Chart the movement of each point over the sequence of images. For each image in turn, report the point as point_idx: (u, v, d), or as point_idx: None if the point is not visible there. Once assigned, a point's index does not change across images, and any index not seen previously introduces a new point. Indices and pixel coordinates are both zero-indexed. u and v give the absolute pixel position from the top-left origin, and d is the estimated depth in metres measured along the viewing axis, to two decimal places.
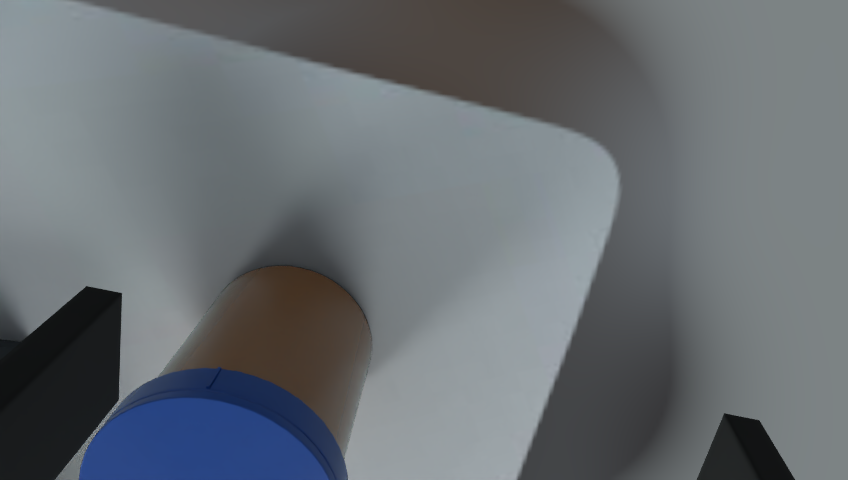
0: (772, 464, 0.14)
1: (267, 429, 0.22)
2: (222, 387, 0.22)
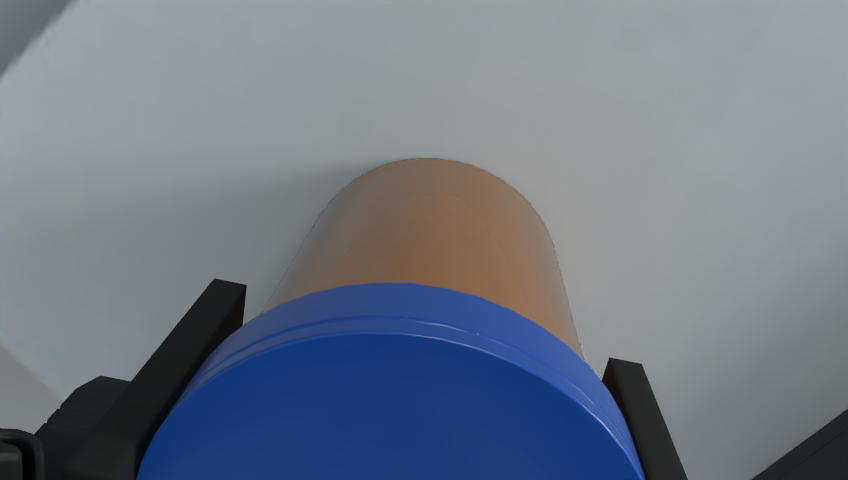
0: (642, 399, 0.15)
1: None
2: None
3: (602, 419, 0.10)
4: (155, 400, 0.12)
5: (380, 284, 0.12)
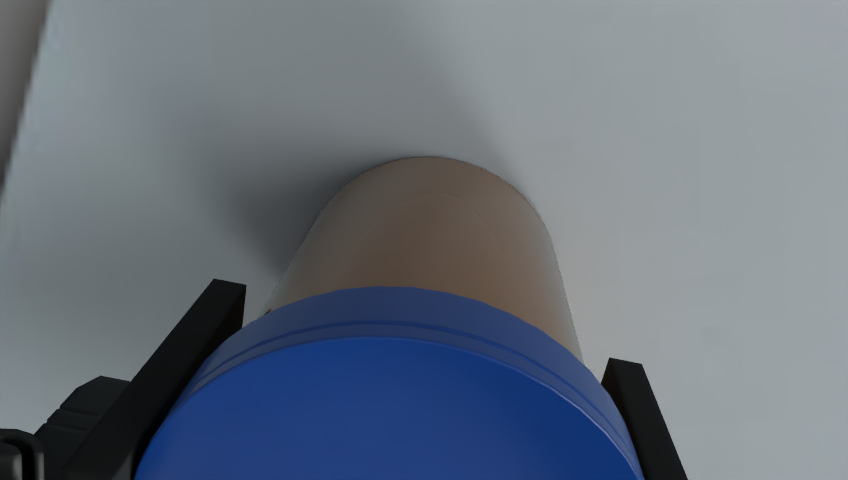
0: (642, 398, 0.15)
1: None
2: None
3: (604, 426, 0.10)
4: (155, 400, 0.12)
5: (379, 288, 0.12)
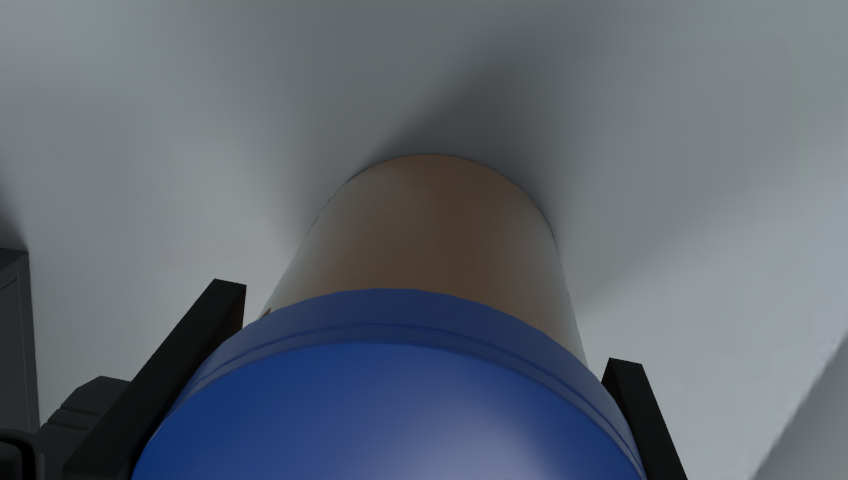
0: (642, 398, 0.15)
1: None
2: None
3: (610, 433, 0.10)
4: (155, 400, 0.12)
5: (381, 289, 0.11)
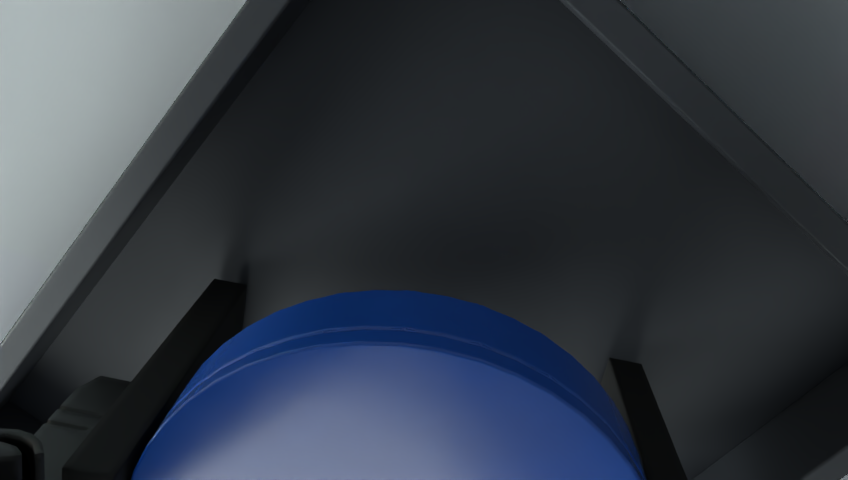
0: (642, 399, 0.15)
1: None
2: None
3: (607, 433, 0.10)
4: (155, 400, 0.12)
5: (379, 291, 0.11)
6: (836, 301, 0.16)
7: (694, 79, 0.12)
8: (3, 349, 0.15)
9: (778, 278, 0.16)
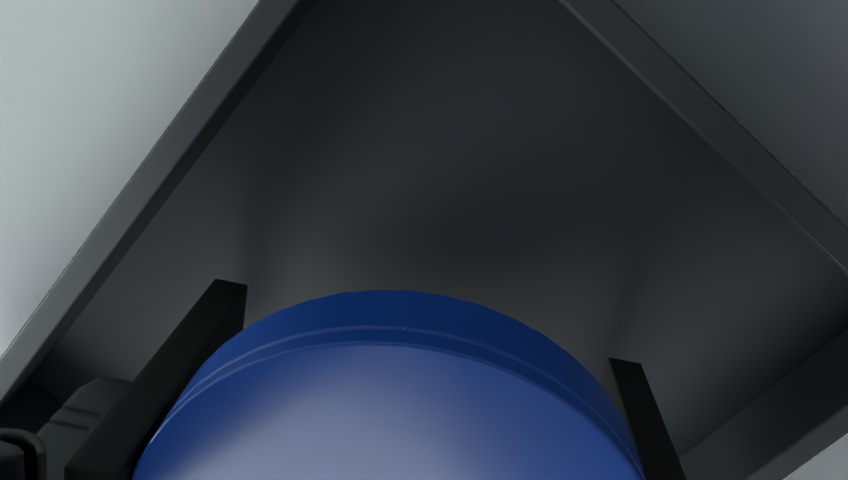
0: (641, 398, 0.15)
1: None
2: None
3: (608, 433, 0.10)
4: (157, 400, 0.12)
5: (379, 291, 0.11)
6: (818, 283, 0.17)
7: (680, 71, 0.13)
8: (28, 328, 0.16)
9: (763, 262, 0.17)
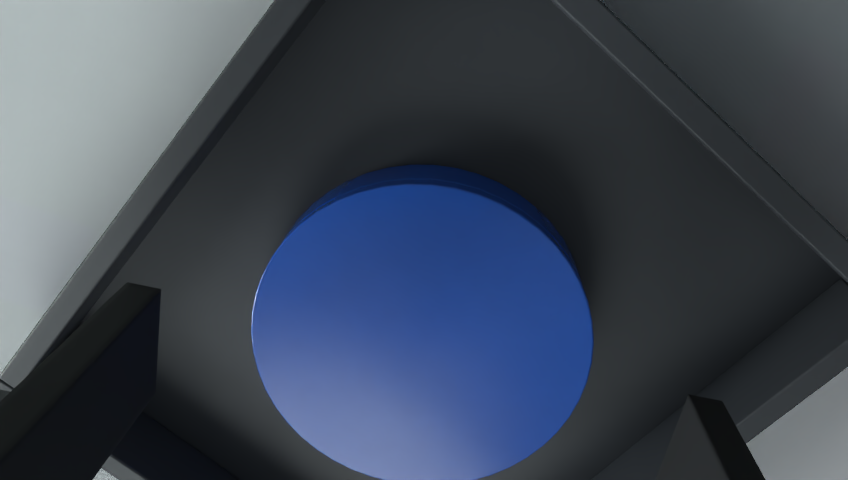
0: (730, 441, 0.14)
1: (277, 384, 0.19)
2: None
3: (555, 243, 0.17)
4: (30, 414, 0.11)
5: (414, 166, 0.18)
6: (787, 257, 0.18)
7: (656, 60, 0.15)
8: (61, 299, 0.18)
9: (736, 237, 0.18)
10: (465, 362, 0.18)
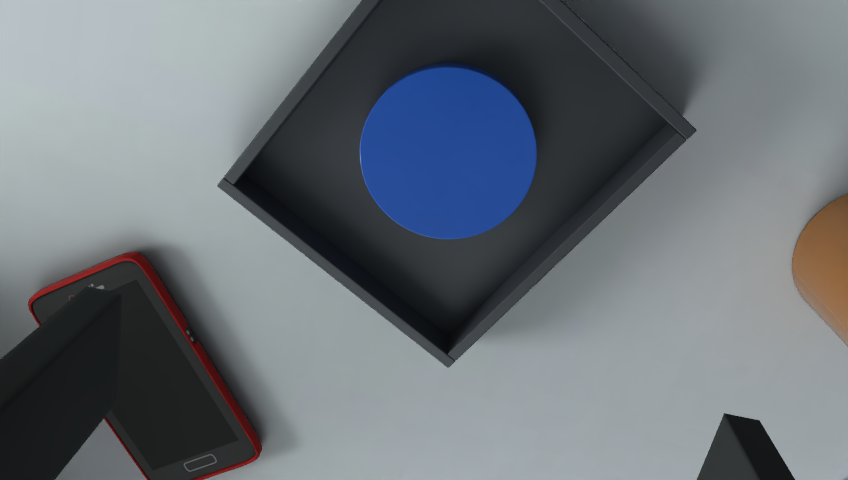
0: (772, 464, 0.14)
1: (372, 180, 0.35)
2: None
3: (516, 98, 0.33)
4: None
5: (444, 63, 0.35)
6: (639, 111, 0.35)
7: (561, 3, 0.31)
8: (262, 131, 0.34)
9: (612, 100, 0.35)
10: (471, 164, 0.35)
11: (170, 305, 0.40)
